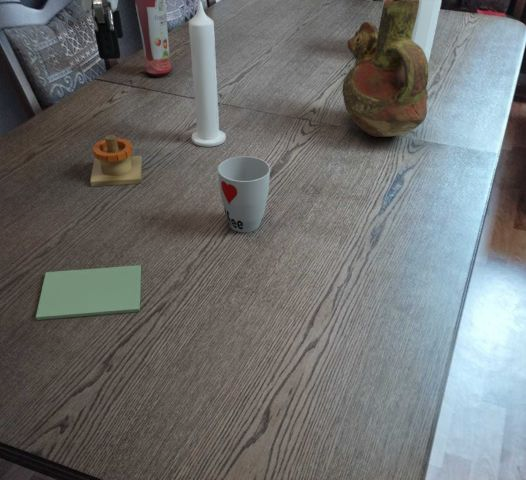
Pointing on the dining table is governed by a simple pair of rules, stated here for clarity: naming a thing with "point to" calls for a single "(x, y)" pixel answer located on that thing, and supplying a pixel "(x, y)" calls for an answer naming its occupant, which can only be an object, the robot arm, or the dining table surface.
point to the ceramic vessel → (387, 73)
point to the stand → (116, 168)
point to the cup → (244, 191)
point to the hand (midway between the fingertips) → (112, 47)
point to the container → (425, 24)
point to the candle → (204, 80)
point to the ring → (113, 156)
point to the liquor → (154, 36)
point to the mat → (90, 292)
